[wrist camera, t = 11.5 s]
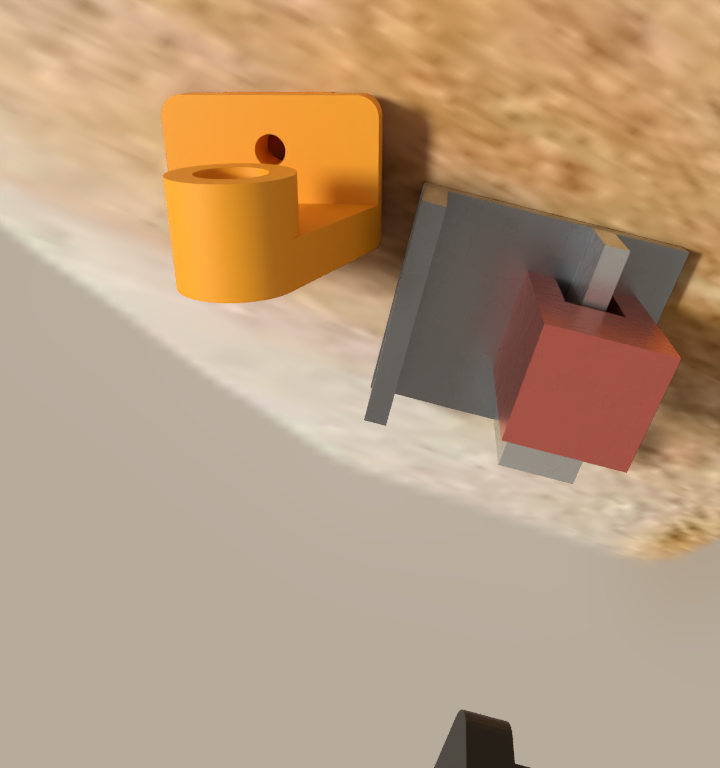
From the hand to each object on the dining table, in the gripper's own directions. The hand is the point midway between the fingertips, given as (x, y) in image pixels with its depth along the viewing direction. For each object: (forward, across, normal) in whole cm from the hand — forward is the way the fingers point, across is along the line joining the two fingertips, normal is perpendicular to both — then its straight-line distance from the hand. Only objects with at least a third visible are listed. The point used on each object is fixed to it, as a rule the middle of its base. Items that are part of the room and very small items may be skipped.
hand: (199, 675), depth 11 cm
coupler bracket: (+30, -8, +3) cm, 31 cm away
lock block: (+29, -11, +3) cm, 31 cm away
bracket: (+30, +6, -2) cm, 31 cm away
